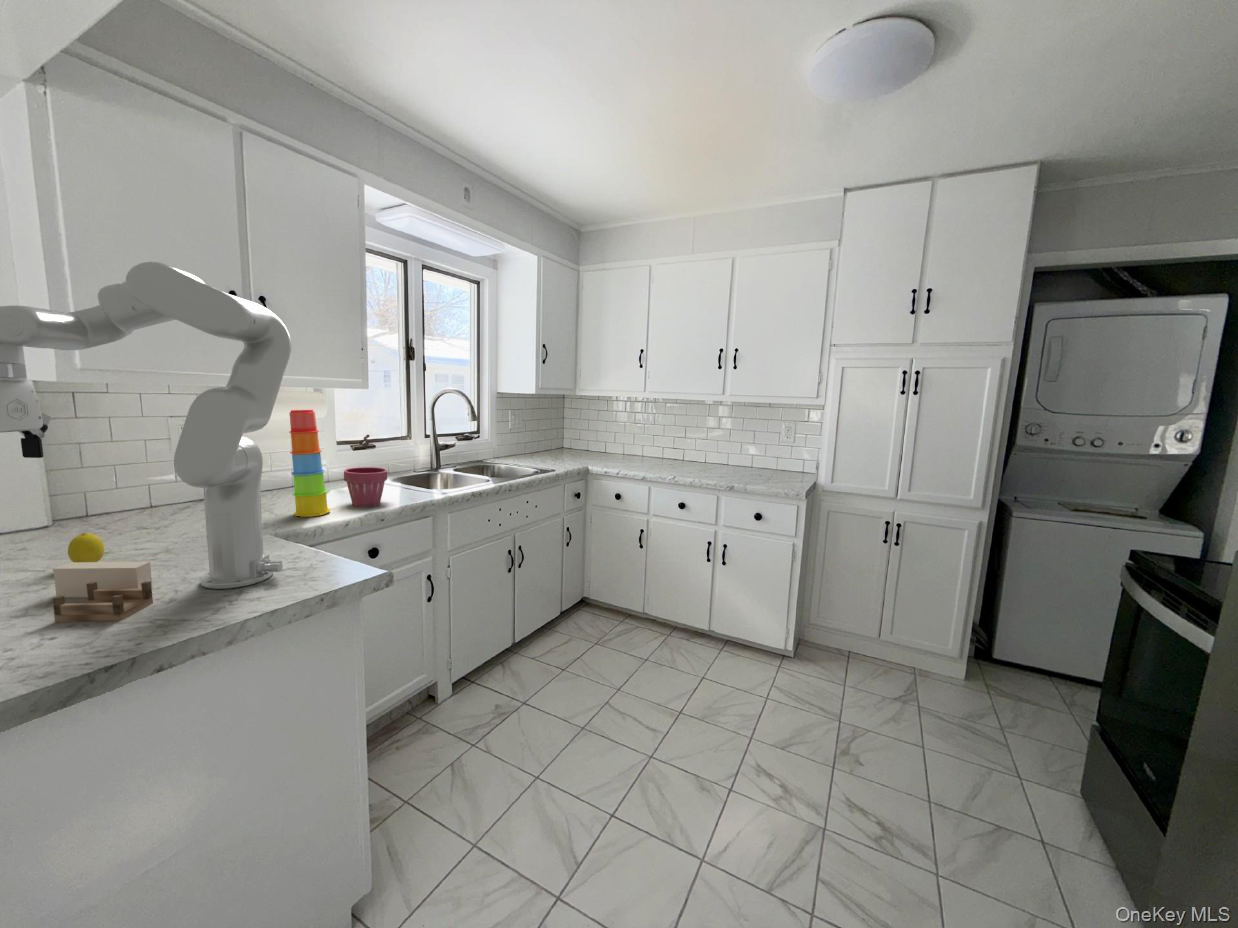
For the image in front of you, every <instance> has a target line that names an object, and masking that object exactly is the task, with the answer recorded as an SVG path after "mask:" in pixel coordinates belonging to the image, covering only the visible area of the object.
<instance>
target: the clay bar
mask: <svg viewBox="0 0 1238 928" xmlns="http://www.w3.org/2000/svg"><path fill="white" fill-rule="evenodd" d="M52 571H53V578H54V587H55V597H56V596H64V598H88V594H87V585H86V584H87V583H90V582H97V588H98V589H137V588H142V587H141V583H143V582H145V581H151V588H152V590H153V579H152V578H153V577H152V568H151V562H150V561H98V562H73V561H69V562H67V563H66V564H63V565H59V566H57V567H54V568H53V569H52Z"/></svg>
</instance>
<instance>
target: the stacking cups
mask: <svg viewBox="0 0 1238 928" xmlns="http://www.w3.org/2000/svg"><path fill="white" fill-rule="evenodd" d="M289 425H290V431H289V433H290V440H291V451H289V453H290V454H291V460H292V470H293V471H292V472H291V475H292V476H293V487H294V492H292V496H293V497H294V501H295V512H293V516H295V517H297V516H300V517H299V518H312V517H318V516H323V515H326V514H329V513H330V512H331V509H330V508H328V507H329V506H328V500H327V493H328V489H326V486H325V476H324V472H325V469H323V463H322V455H321V453H322V450H321V449H320V441H319V433H318V432H320V431H319V429H317V419H316V412H315V411H314V409H290V412H289Z"/></svg>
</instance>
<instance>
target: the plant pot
mask: <svg viewBox="0 0 1238 928" xmlns="http://www.w3.org/2000/svg"><path fill="white" fill-rule="evenodd" d="M387 480H388V470H387V468H384V467H374V466H369V467H368V466H367V467H366V466H362V467H360V466H358V467H350V468H345V469H344V470H343V481H344V482H346V485H347V488H348V493H349V497H350V499H351V504H352V506H354V507H359V508H360V507H361V508H362V507H364V508H365V507H374V506H375V507H376V506H378V505H380V504H381V500H382V496H383V492H384V488H385V482H386V481H387Z"/></svg>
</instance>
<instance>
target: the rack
mask: <svg viewBox="0 0 1238 928" xmlns="http://www.w3.org/2000/svg"><path fill="white" fill-rule="evenodd" d="M86 585H87V594H88V597H87V600H85V601H83V602H75V603H74V602H71V603H69V602H68V603H67V602H66V601H65V597H64V596H56V595H55V597H52V605H53V613H54V616H53V617H54V622H55V623H71V622H72V623H74V622H77V623H78V622H79V623H80V622H114V621H115V622H120V621H122V620H125V619H126V618H128V617H130V616H131V615H133V614H135V613H137V612H139V611H141V610H143V609H144V608H148V606H150V605H152V604H154V599H153V591H152V590H153V589H152V588H153V587H152V588H151V581H145V582H143V583H141V587H142V588H137V589H98V588H97V582H90V583H87V584H86Z"/></svg>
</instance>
